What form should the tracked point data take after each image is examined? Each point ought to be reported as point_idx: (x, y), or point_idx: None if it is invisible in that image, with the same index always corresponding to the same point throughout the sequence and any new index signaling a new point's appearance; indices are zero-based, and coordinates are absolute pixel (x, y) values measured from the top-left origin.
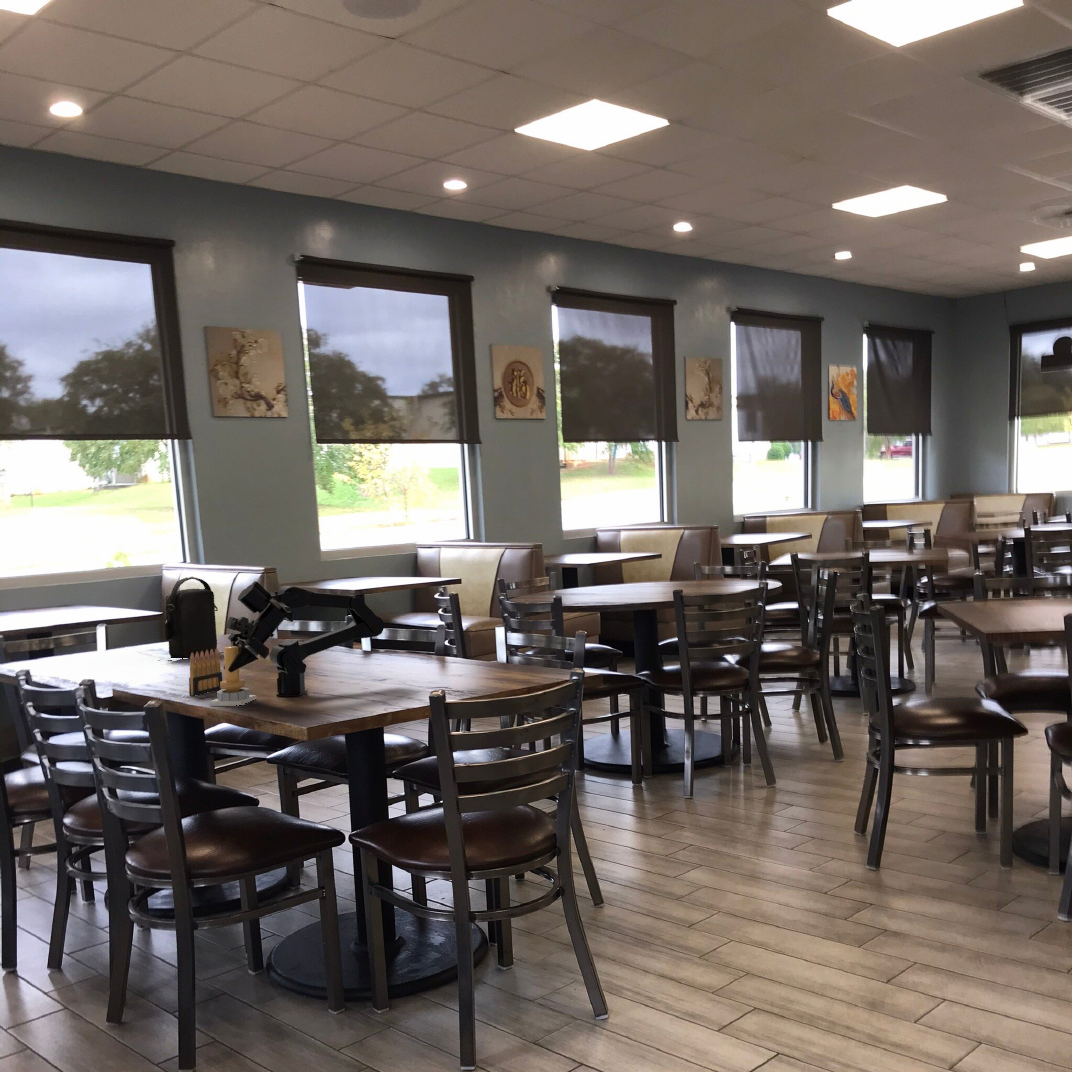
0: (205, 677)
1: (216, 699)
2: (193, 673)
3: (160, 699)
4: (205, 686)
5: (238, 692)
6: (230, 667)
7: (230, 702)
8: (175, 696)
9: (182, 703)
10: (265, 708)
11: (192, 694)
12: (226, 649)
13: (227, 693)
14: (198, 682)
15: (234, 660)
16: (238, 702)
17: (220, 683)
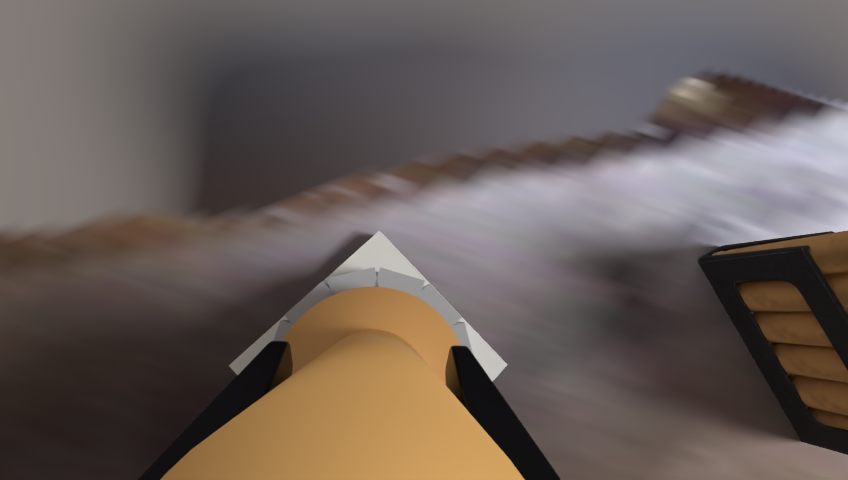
0: (842, 338)
1: (406, 273)
2: (846, 245)
3: (710, 124)
4: (778, 332)
5: None
6: (244, 369)
7: (285, 316)
8: (745, 194)
9: (548, 160)
10: (30, 457)
11: (714, 255)
12: (246, 414)
13: (294, 306)
14: (791, 287)
15: (175, 460)
16: (243, 352)
17: (380, 287)
